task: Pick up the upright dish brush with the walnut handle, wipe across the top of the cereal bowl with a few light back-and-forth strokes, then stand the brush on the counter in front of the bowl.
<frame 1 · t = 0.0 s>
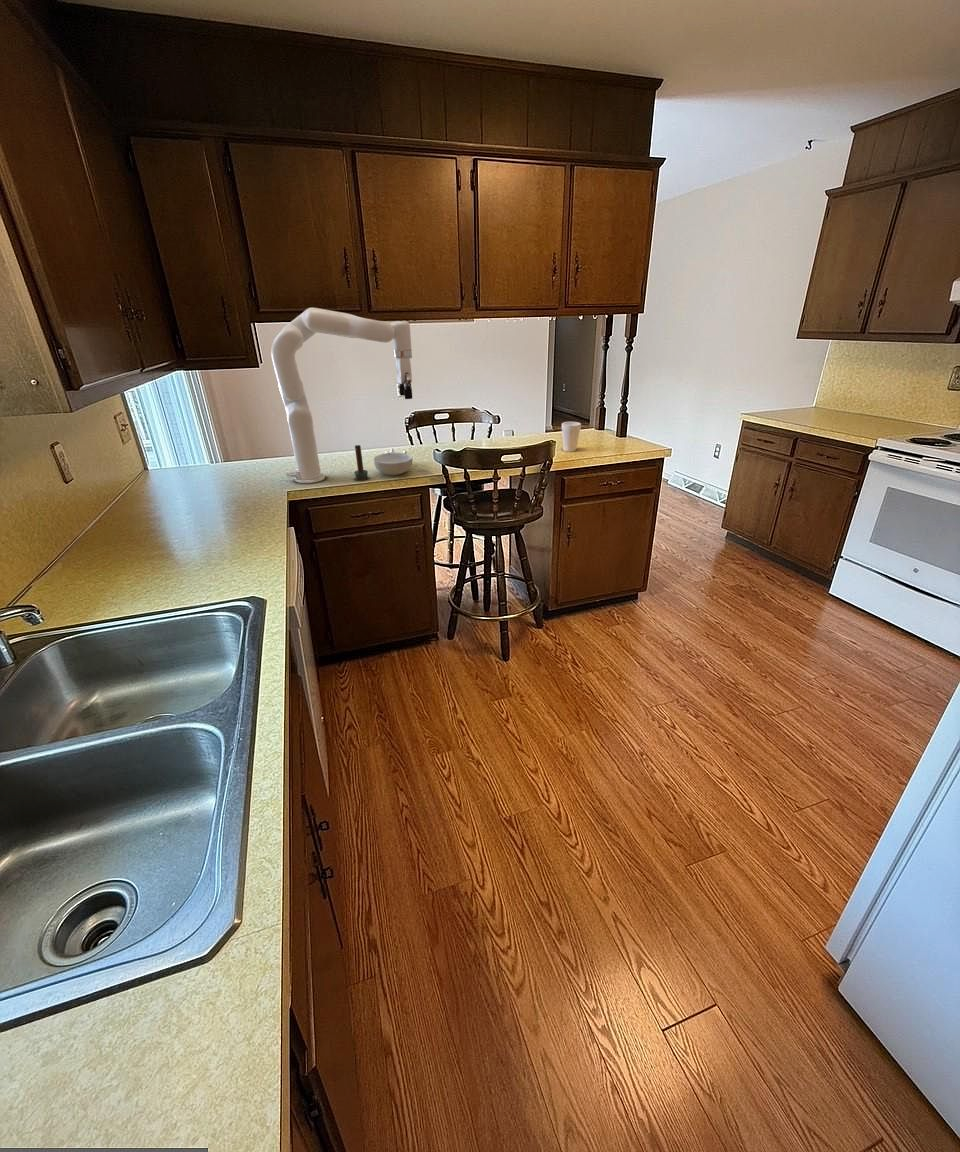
hand: (406, 397, 223), 31 cm above the table, tool pointing down, fingers open, 9 cm apart
bracket: (395, 463, 246), on the table
cereal bowl: (394, 473, 231), on the table
foam cup: (569, 450, 262), on the table
brush: (361, 478, 224), on the table
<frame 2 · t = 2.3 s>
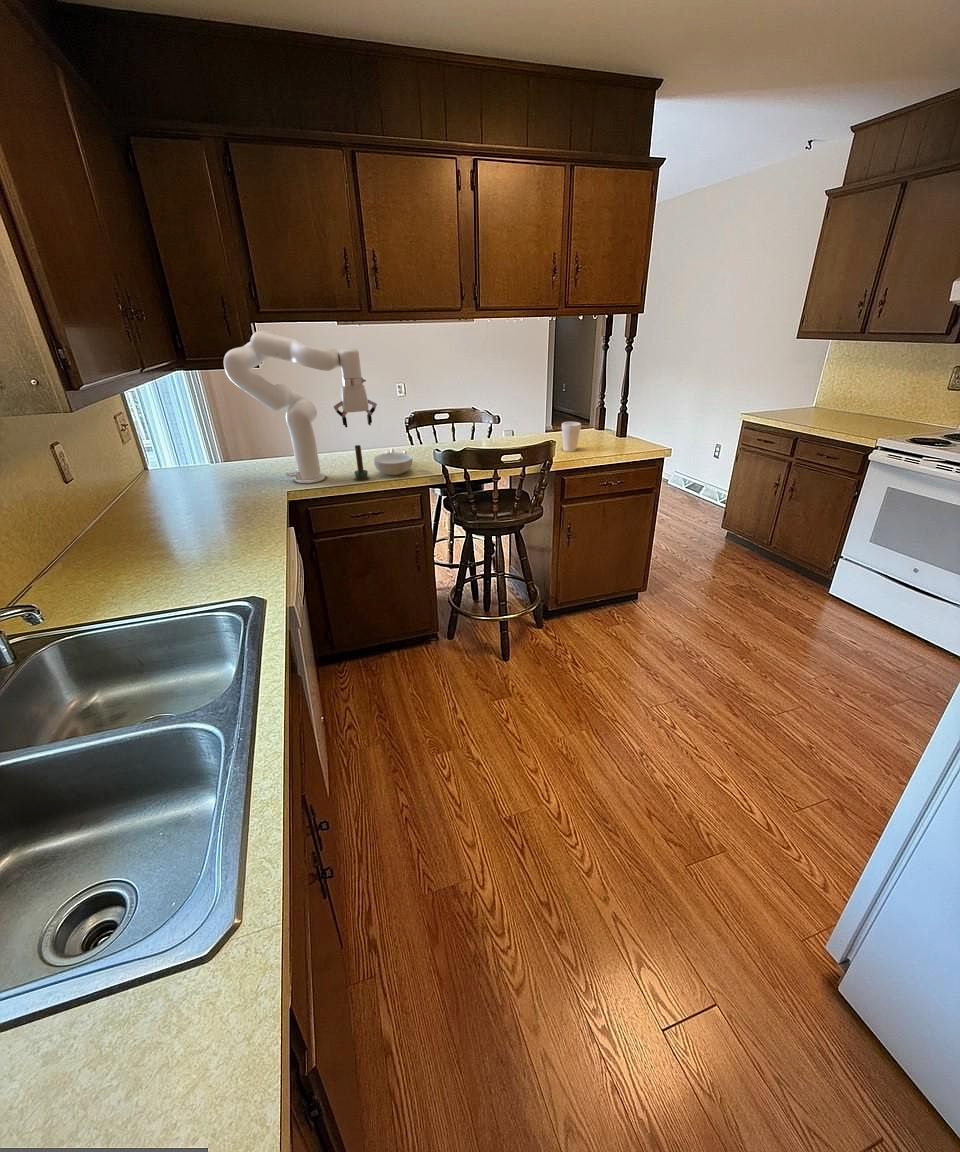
hand: (357, 425, 214), 23 cm above the table, tool pointing down, fingers open, 9 cm apart
nothing on the table moved.
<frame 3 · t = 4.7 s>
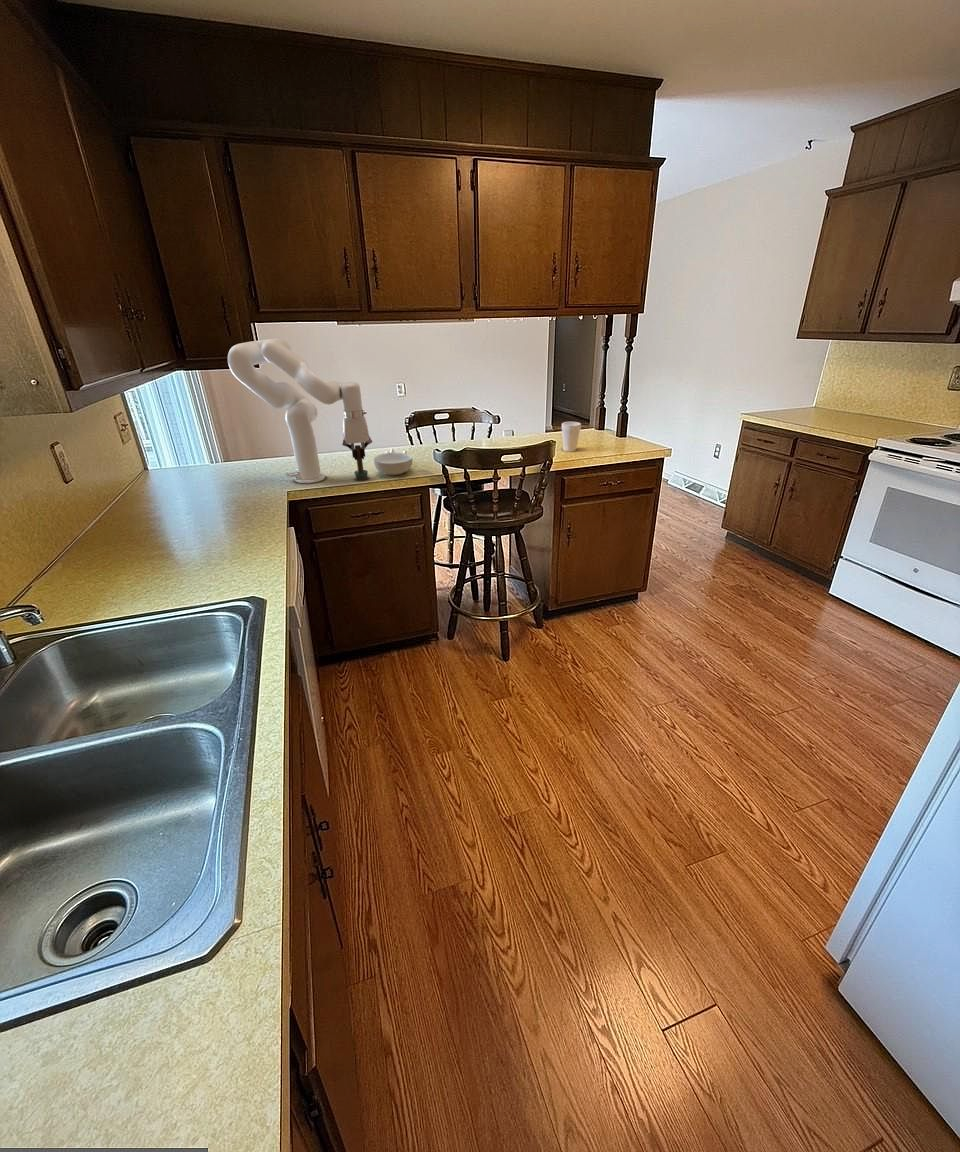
hand: (359, 458, 220), 9 cm above the table, tool pointing down, fingers closed on brush, 2 cm apart
brush: (361, 478, 224), on the table, touching gripper
everything else where it was.
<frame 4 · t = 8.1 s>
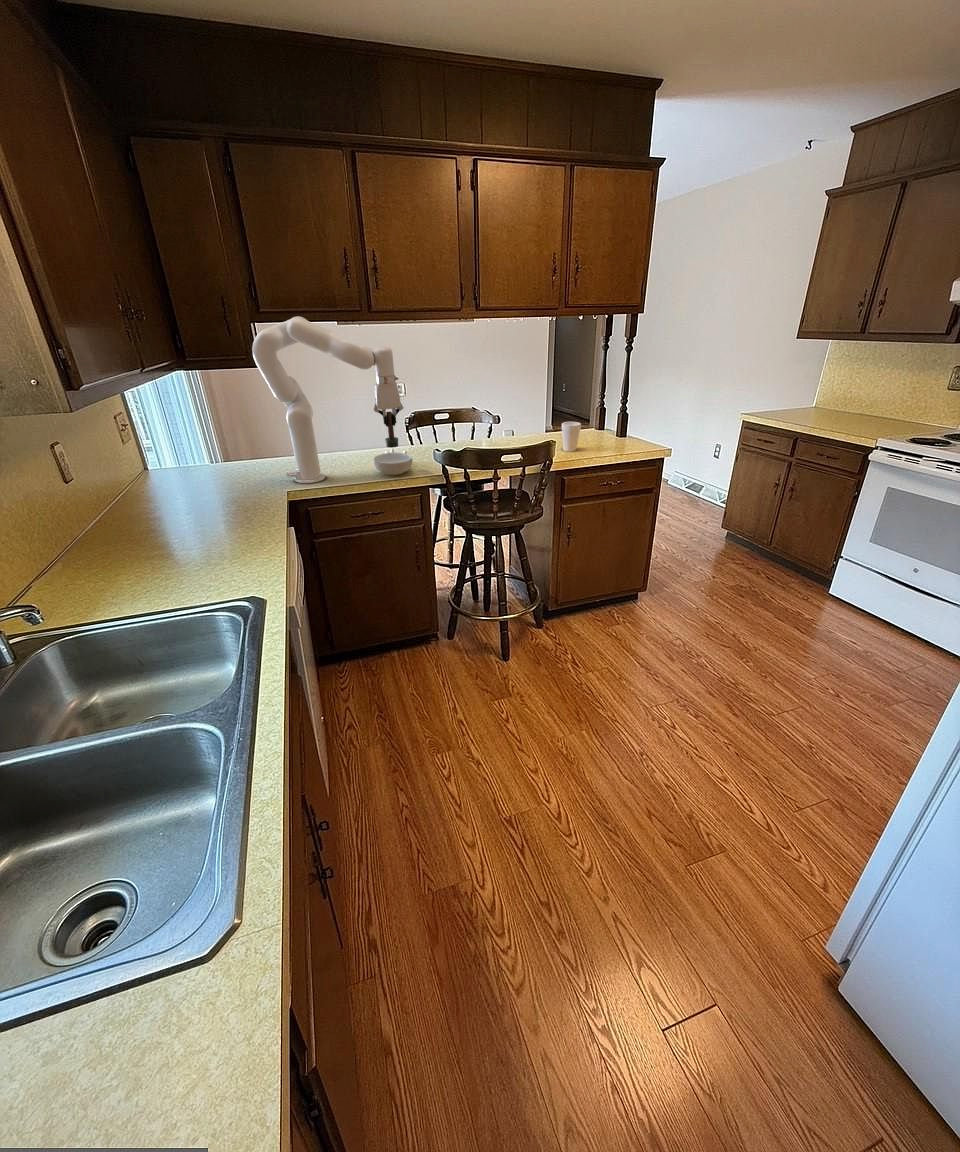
hand: (390, 425, 221), 21 cm above the table, tool pointing down, fingers closed on brush, 2 cm apart
brush: (392, 446, 225), point 12 cm above the table, touching gripper
everything else where it was.
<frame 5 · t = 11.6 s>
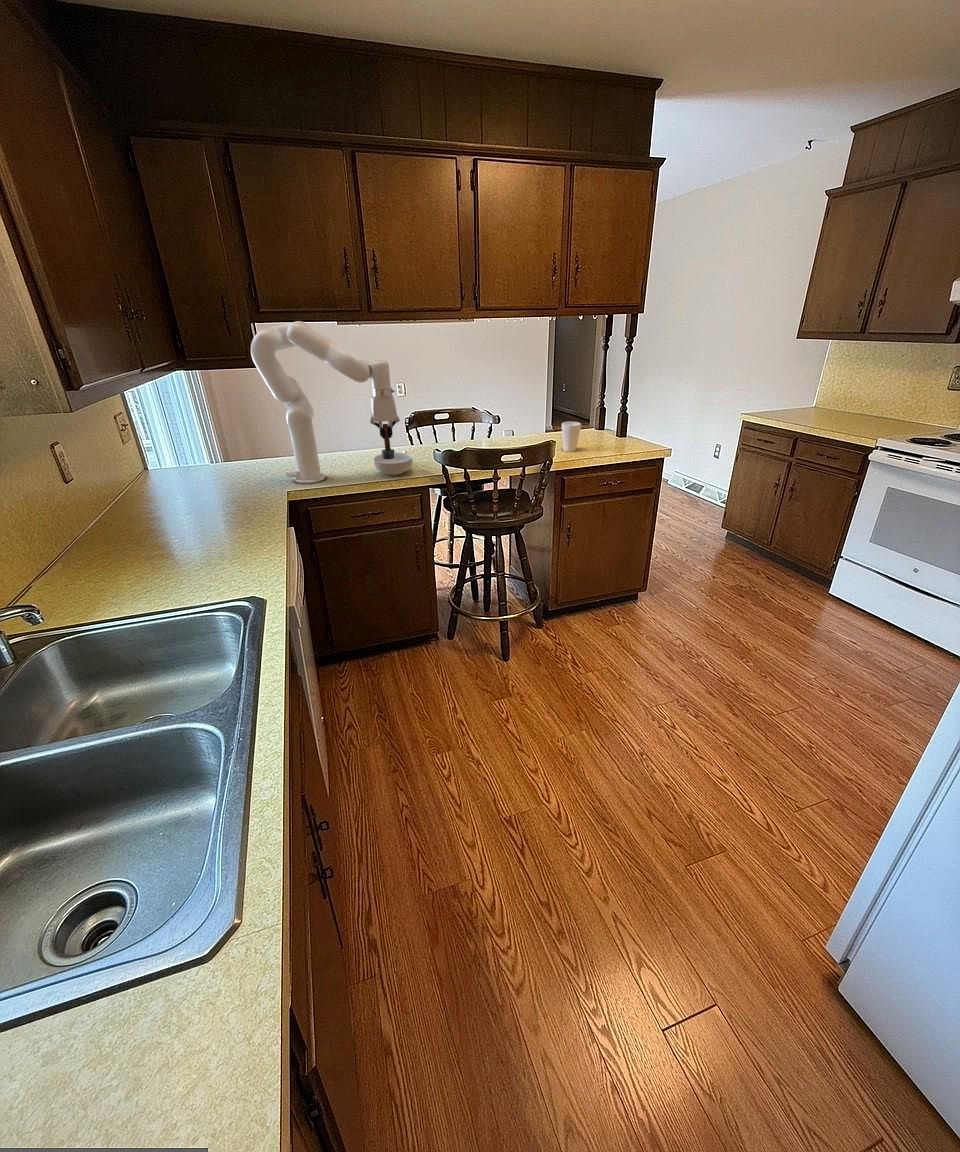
hand: (386, 437, 222), 16 cm above the table, tool pointing down, fingers closed on brush, 2 cm apart
brush: (388, 457, 226), point 7 cm above the table, touching gripper
everything else where it was.
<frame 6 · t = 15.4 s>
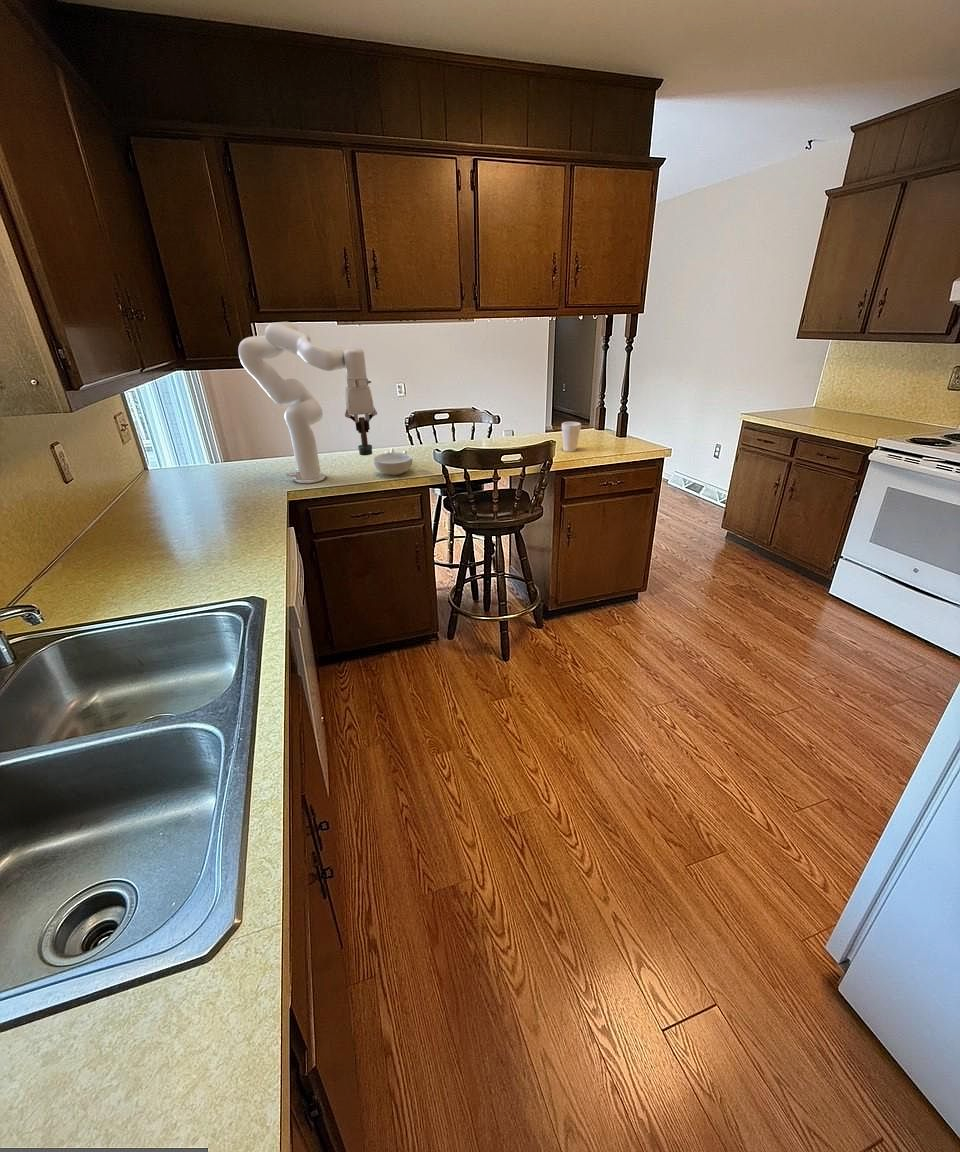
hand: (363, 431, 206), 22 cm above the table, tool pointing down, fingers closed on brush, 2 cm apart
brush: (365, 453, 211), point 13 cm above the table, touching gripper
everything else where it was.
when the fingers open (9 cm above the table, at t = 18.5 s): brush stays where it is, on the table.
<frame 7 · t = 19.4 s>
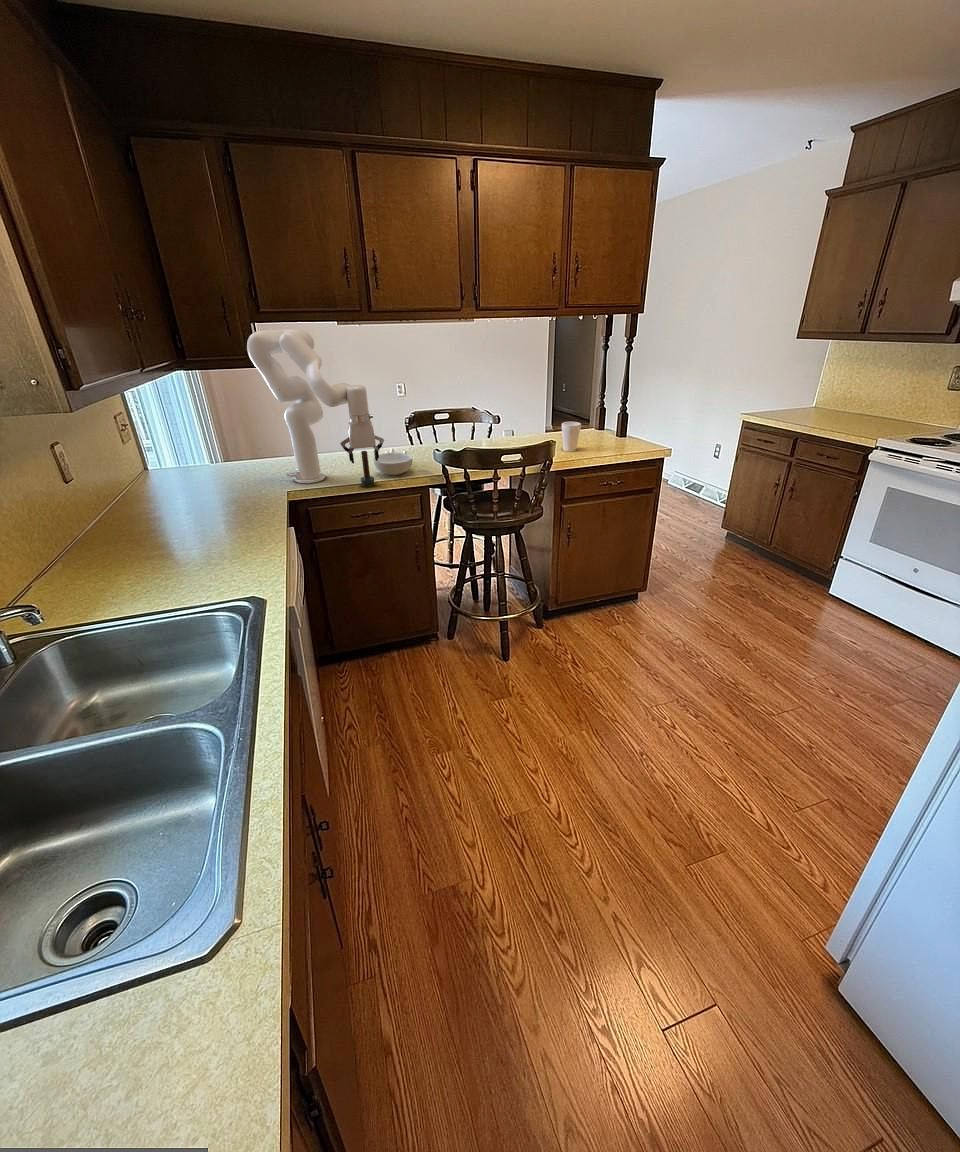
hand: (364, 461, 211), 10 cm above the table, tool pointing down, fingers open, 9 cm apart
brush: (368, 485, 216), on the table
everything else where it was.
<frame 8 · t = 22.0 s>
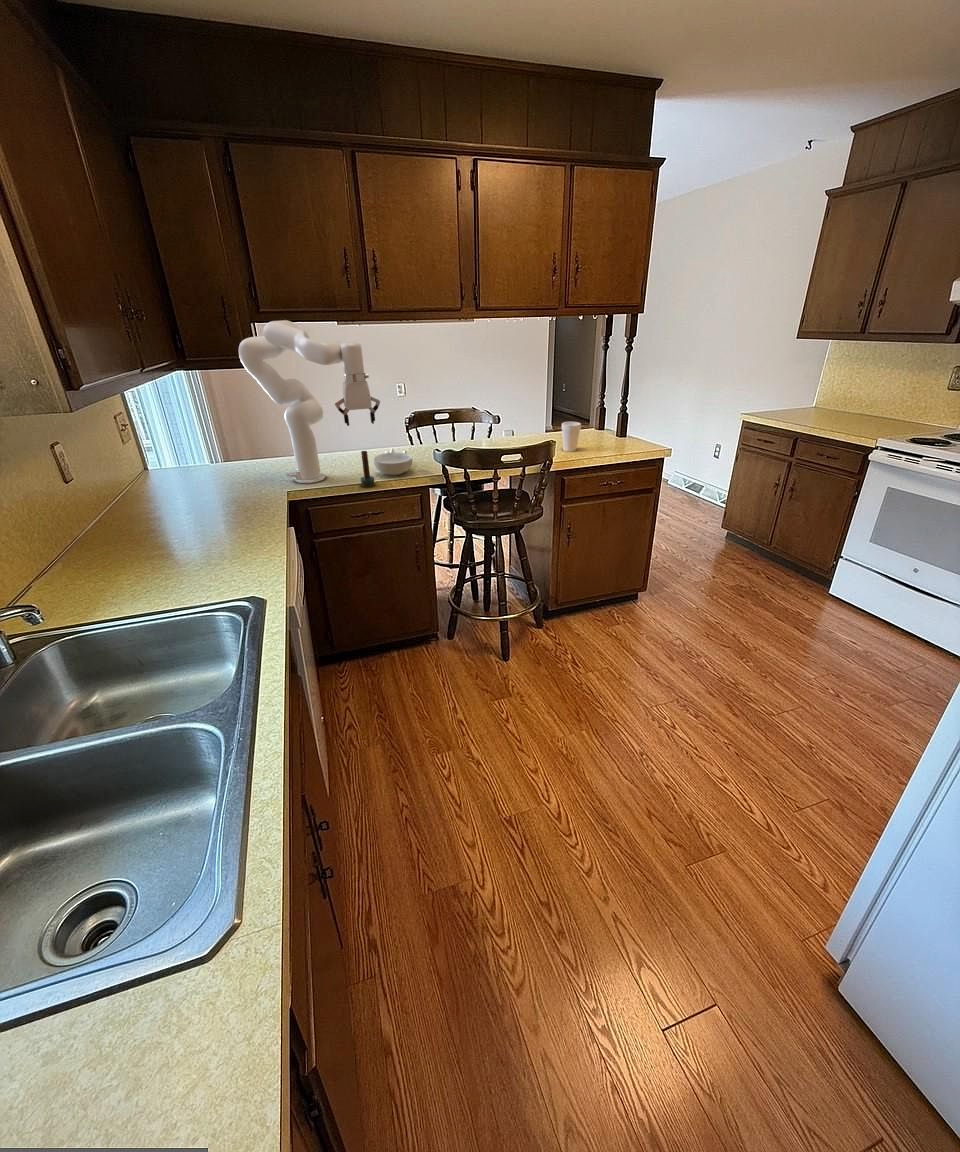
hand: (360, 424, 204), 25 cm above the table, tool pointing down, fingers open, 9 cm apart
nothing on the table moved.
at the end: brush inside the target area (0.2 cm from its centre), on the table; brush tilted 0°; cereal bowl moved 0.2 cm from its start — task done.
